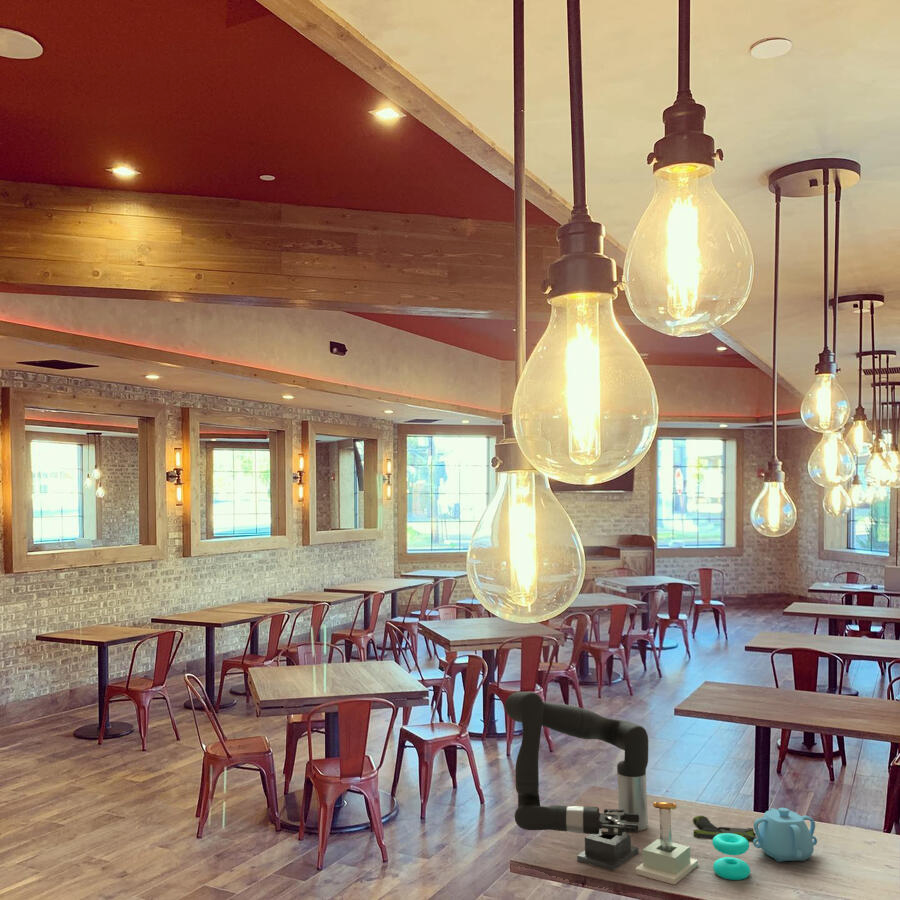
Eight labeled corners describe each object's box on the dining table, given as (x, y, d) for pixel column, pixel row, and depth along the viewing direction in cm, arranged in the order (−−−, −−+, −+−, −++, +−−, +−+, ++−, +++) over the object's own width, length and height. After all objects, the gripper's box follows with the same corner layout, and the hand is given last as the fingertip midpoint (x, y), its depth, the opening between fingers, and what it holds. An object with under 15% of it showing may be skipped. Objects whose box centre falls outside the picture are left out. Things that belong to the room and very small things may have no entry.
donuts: (717, 829, 256) (752, 835, 250) (718, 864, 255) (753, 871, 250) (708, 840, 247) (744, 847, 242) (709, 877, 247) (745, 884, 241)
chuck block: (603, 843, 272) (602, 823, 272) (638, 852, 264) (638, 832, 264) (577, 860, 259) (576, 840, 259) (613, 870, 252) (612, 849, 252)
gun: (750, 826, 285) (757, 845, 270) (690, 822, 289) (694, 840, 274) (750, 818, 285) (757, 837, 270) (690, 814, 289) (694, 832, 274)
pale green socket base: (659, 855, 262) (659, 834, 262) (698, 865, 254) (697, 844, 255) (635, 873, 249) (634, 852, 250) (674, 884, 242) (674, 862, 242)
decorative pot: (825, 855, 260) (823, 809, 260) (799, 871, 249) (797, 823, 250) (773, 840, 272) (771, 796, 272) (746, 855, 261) (745, 808, 262)
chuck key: (654, 865, 251) (652, 804, 252) (654, 860, 254) (653, 800, 255) (678, 867, 250) (676, 805, 250) (678, 862, 253) (676, 801, 253)
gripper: (580, 815, 251) (637, 819, 248) (584, 798, 265) (638, 802, 262) (581, 841, 251) (638, 846, 247) (585, 823, 265) (639, 827, 261)
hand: (638, 823), depth 254 cm, fingers open, 8 cm apart
